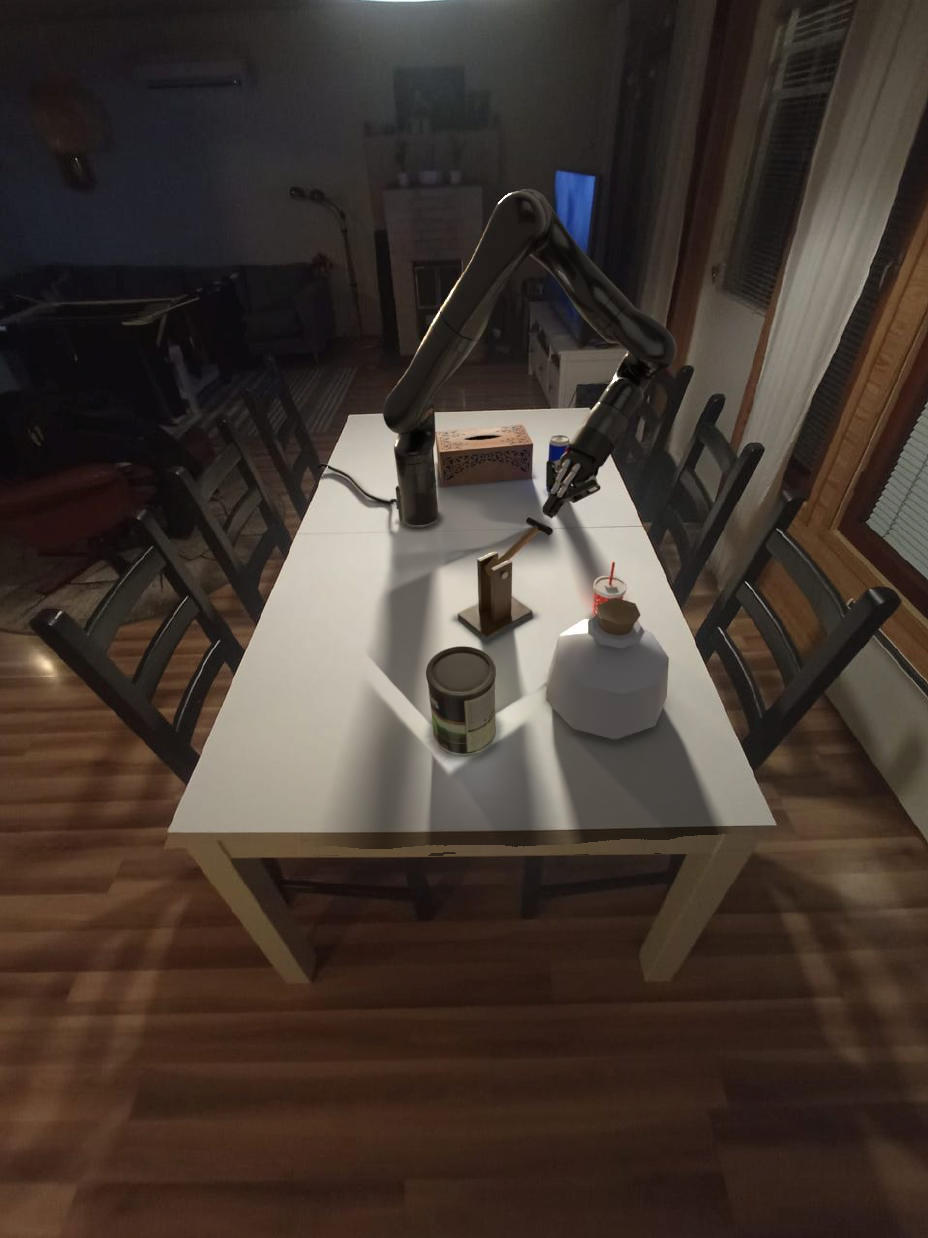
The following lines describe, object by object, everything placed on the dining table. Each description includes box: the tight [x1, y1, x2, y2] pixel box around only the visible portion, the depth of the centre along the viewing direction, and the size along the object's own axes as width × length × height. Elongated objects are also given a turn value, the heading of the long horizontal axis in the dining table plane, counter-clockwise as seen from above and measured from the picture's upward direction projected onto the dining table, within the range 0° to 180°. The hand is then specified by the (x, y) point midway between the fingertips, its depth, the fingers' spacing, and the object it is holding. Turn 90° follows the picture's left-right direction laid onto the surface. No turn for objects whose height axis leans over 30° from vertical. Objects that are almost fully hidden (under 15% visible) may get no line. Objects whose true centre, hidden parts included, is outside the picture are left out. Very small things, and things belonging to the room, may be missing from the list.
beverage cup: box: [592, 561, 628, 617], centre depth 105 cm, size 6×6×14 cm
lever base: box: [457, 550, 533, 639], centre depth 108 cm, size 12×9×14 cm
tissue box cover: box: [435, 423, 534, 487], centre depth 160 cm, size 26×14×10 cm, turn 97°
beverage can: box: [546, 434, 571, 495], centre depth 147 cm, size 5×5×15 cm
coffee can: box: [425, 645, 497, 757], centre depth 86 cm, size 10×10×14 cm
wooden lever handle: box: [484, 515, 554, 576], centre depth 105 cm, size 14×6×2 cm, turn 127°
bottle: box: [545, 598, 670, 740], centre depth 89 cm, size 20×20×19 cm
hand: (546, 515), depth 106 cm, fingers closed
